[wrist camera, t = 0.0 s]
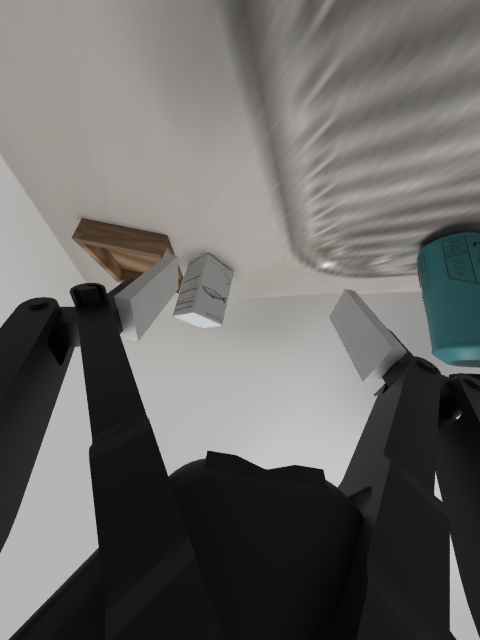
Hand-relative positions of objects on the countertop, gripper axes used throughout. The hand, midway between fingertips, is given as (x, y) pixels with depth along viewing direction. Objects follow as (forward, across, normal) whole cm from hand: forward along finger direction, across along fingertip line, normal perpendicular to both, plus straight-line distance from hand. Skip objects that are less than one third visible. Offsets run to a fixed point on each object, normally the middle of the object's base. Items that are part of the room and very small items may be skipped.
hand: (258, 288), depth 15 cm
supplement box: (+26, -8, -10) cm, 29 cm away
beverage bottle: (+16, +25, +5) cm, 30 cm away
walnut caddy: (+26, -23, -10) cm, 36 cm away
